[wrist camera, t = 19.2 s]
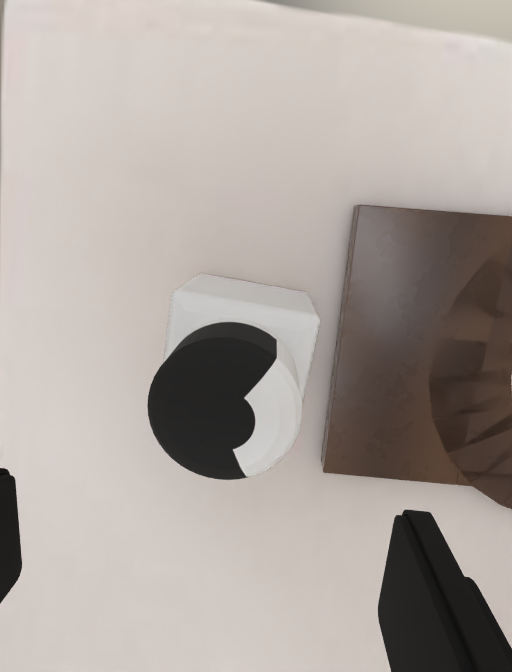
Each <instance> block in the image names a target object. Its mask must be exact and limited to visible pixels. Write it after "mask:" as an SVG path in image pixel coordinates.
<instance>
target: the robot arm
mask: <svg viewBox="0 0 512 672" xmlns="http://www.w3.org/2000/svg"><path fill="white" fill-rule="evenodd" d="M21 569H22V558H21V546H20V534H19V521H18V509H17V496H16V484H15V478H14V477H13V476H11V475H10V473H9V471H8V470H7V469H4V468H0V603H1V602H2V600H3V599H4V598H5V596H6V595H7V594H8V592H9V591H10V590H11V588H12V587H13V586H14V584H15V583H16V581H17V580H18V578H19V576H20V573H21ZM378 618H379V624H380V628H381V632H382V636H383V640H384V644H385V648H386V652H387V656H388V660H389V664H390V668H391V672H512V648H511V647H510V645H509V643H508V641H507V639H506V637H505V636H504V634H503V632H502V630H501V628H500V626H499V625H498V623H497V621H496V619H495V617H494V615H493V614H492V612H491V610H490V608H489V606H488V604H487V603H486V601H485V599H484V597H483V595H482V593H481V592H480V590H479V588H478V586H477V585H476V583H475V582H474V580H472V579H471V578H469V577H464V575H463V573H462V571H461V569H460V567H459V565H458V564H457V562H456V560H455V558H454V556H453V554H452V552H451V550H450V548H449V546H448V544H447V543H446V541H445V539H444V537H443V535H442V533H441V531H440V529H439V527H438V525H437V523H436V521H435V520H434V518H433V516H432V514H431V513H430V512H424V511H415V510H404V512H403V514H402V516H401V515H397V516H396V517H395V519H394V524H393V529H392V534H391V540H390V545H389V550H388V556H387V561H386V566H385V572H384V577H383V582H382V587H381V593H380V598H379V604H378Z"/></svg>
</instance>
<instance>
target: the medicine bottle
mask: <svg viewBox="0 0 512 672" xmlns="http://www.w3.org/2000/svg"><path fill="white" fill-rule="evenodd" d="M319 327H320V317H319V315H318V313H317V311H316V309H315V307H314V304H313V302H312V300H311V298H310V296H309V294H308V293H306V292H303V291H297V290H292V289H286V288H281V287H275V286H270V285H264V284H259V283H253V282H247V281H242V280H236V279H231V278H225V277H220V276H214V275H209V274H203V273H202V274H199V275H197V276H196V277H194V278H193V279H191V280H190V281H188V282H187V283H185V284H184V285H183V286H181V287H180V288H178V289H177V290H175V291H174V292H173V293H172V295H171V303H170V311H169V319H168V327H167V336H166V344H165V352H164V360H163V364H162V366H161V367H160V368H159V370H158V371H157V373H156V375H155V377H154V379H153V381H152V384H151V387H150V391H149V395H148V416H149V420H150V425H151V427H152V430H153V433H154V435H155V437H156V439H157V440H158V442H159V444H160V445H161V446H162V448H163V449H164V451H165V452H166V453H167V454H168V455H169V456H170V457H171V458H172V459H173V460H175V461H176V462H177V463H178V464H180V465H181V466H183V467H185V468H186V469H188V470H190V471H192V472H194V473H196V474H199V475H202V476H205V477H209V478H214V479H224V480H233V479H242V478H247V477H251V476H254V475H257V474H259V473H261V472H263V471H266V470H268V469H269V468H271V467H272V466H274V465H275V464H276V463H277V462H279V461H280V460H281V459H282V458H283V457H284V456H285V455H286V454H287V452H288V451H289V450H290V448H291V447H292V445H293V444H294V442H295V440H296V438H297V435H298V433H299V429H300V426H301V420H302V403H303V399H304V394H305V390H306V385H307V381H308V376H309V372H310V367H311V363H312V358H313V354H314V349H315V345H316V340H317V336H318V331H319Z"/></svg>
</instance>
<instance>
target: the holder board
mask: <svg viewBox="0 0 512 672" xmlns="http://www.w3.org/2000/svg"><path fill="white" fill-rule="evenodd" d="M511 374H512V216H499V215H486V214H473V213H460V212H447V211H434V210H421V209H408V208H395V207H382V206H369V205H357V206H355V207H354V214H353V222H352V230H351V237H350V245H349V252H348V260H347V268H346V275H345V283H344V290H343V298H342V306H341V313H340V321H339V328H338V336H337V344H336V351H335V359H334V366H333V374H332V382H331V389H330V397H329V404H328V412H327V420H326V427H325V435H324V442H323V450H322V457H321V462H322V467H323V472H324V473H335V474H345V475H356V476H367V477H378V478H388V479H399V480H410V481H421V482H431V483H442V484H453V485H465V486H473V487H475V488H476V489H478V490H479V491H481V492H482V493H484V494H485V495H487V496H488V497H490V498H491V499H493V500H494V501H495V502H497V503H498V504H500V505H502V506H505V507H507V508H510V509H512V391H511Z"/></svg>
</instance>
